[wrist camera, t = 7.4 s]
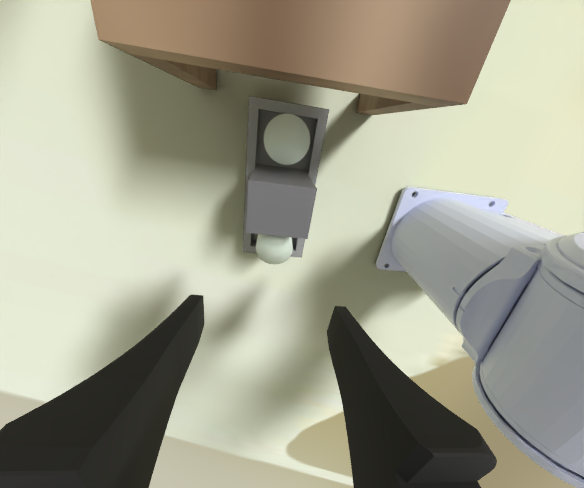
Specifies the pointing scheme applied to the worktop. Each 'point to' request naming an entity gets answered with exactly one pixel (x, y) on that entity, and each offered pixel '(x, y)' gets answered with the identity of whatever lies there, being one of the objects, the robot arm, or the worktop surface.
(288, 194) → the grey plastic caddy
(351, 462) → the robot arm
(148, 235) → the worktop surface
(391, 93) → the walnut shelf
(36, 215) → the worktop surface
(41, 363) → the worktop surface
